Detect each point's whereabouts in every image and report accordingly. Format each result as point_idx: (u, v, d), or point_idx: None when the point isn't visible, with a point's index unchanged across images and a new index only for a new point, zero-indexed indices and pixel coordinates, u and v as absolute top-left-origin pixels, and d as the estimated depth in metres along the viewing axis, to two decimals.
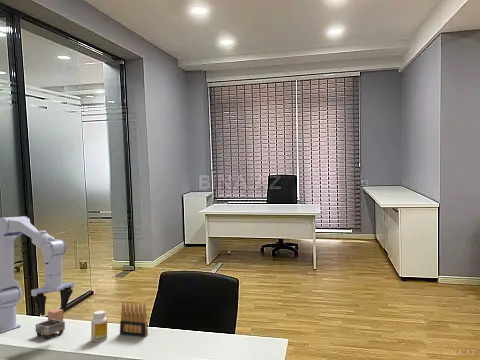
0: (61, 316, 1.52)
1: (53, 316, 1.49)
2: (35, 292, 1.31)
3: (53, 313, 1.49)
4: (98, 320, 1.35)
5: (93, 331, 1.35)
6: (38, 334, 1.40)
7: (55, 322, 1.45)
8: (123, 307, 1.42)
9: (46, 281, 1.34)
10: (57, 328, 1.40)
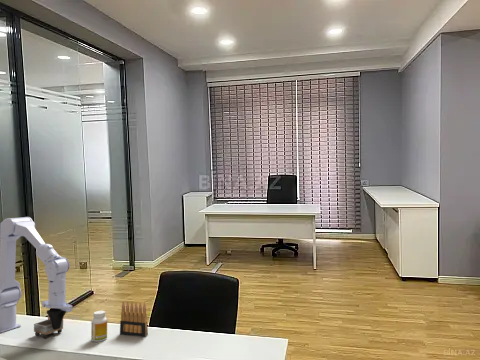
0: None
1: None
2: (42, 303, 1.42)
3: None
4: (98, 320, 1.35)
5: (93, 331, 1.35)
6: (36, 334, 1.40)
7: None
8: (123, 307, 1.42)
9: None
10: None
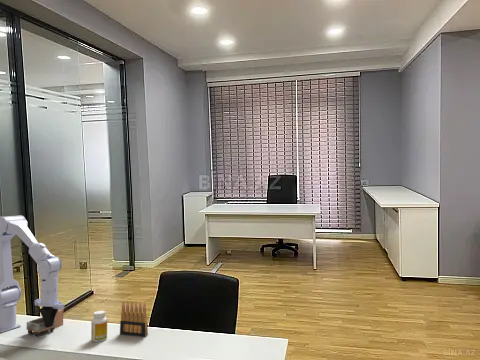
0: (61, 316, 1.52)
1: None
2: (35, 302, 1.45)
3: None
4: (98, 320, 1.35)
5: (93, 331, 1.35)
6: (29, 332, 1.42)
7: None
8: (123, 307, 1.42)
9: None
10: None
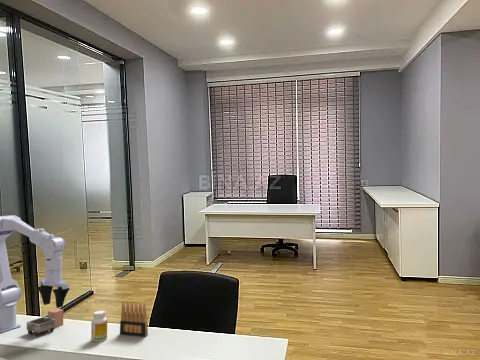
0: (61, 316, 1.52)
1: (53, 316, 1.49)
2: (39, 281, 1.46)
3: (53, 313, 1.49)
4: (98, 320, 1.35)
5: (93, 331, 1.35)
6: (29, 332, 1.42)
7: (46, 320, 1.47)
8: (123, 307, 1.42)
9: None
10: (48, 326, 1.43)
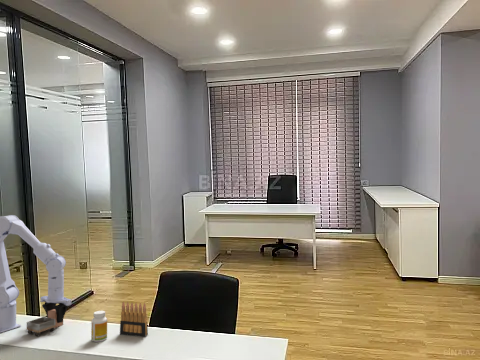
0: None
1: (53, 316, 1.49)
2: (41, 298, 1.53)
3: (53, 313, 1.49)
4: (98, 320, 1.35)
5: (93, 331, 1.35)
6: (29, 332, 1.42)
7: (46, 320, 1.47)
8: (123, 307, 1.42)
9: None
10: (48, 326, 1.43)
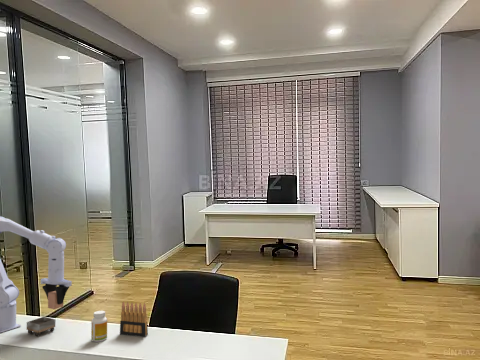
0: None
1: (53, 298, 1.50)
2: (41, 280, 1.54)
3: (53, 294, 1.50)
4: (98, 320, 1.35)
5: (93, 331, 1.35)
6: (29, 332, 1.42)
7: (46, 320, 1.47)
8: (123, 307, 1.42)
9: None
10: (48, 326, 1.43)
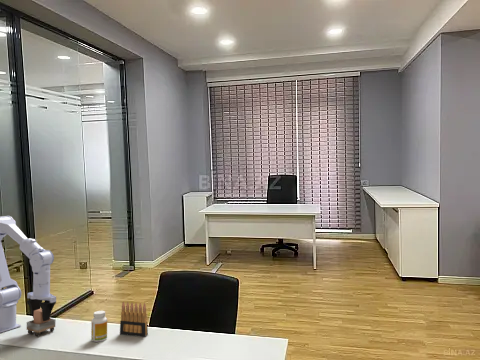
0: None
1: (39, 316, 1.42)
2: (28, 294, 1.47)
3: (39, 313, 1.42)
4: (98, 320, 1.35)
5: (93, 331, 1.35)
6: (29, 332, 1.42)
7: None
8: (123, 307, 1.42)
9: None
10: (48, 326, 1.43)
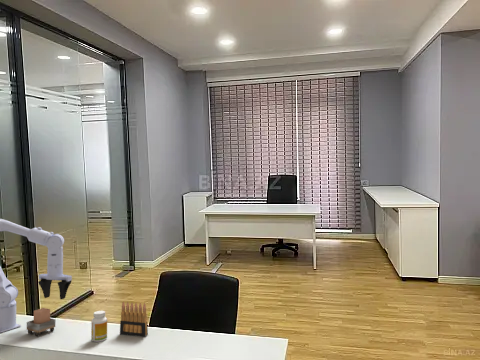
0: (48, 316, 1.45)
1: (39, 316, 1.42)
2: (39, 276, 1.55)
3: (39, 313, 1.42)
4: (98, 320, 1.35)
5: (93, 331, 1.35)
6: (29, 332, 1.42)
7: None
8: (123, 307, 1.42)
9: None
10: (48, 326, 1.43)
